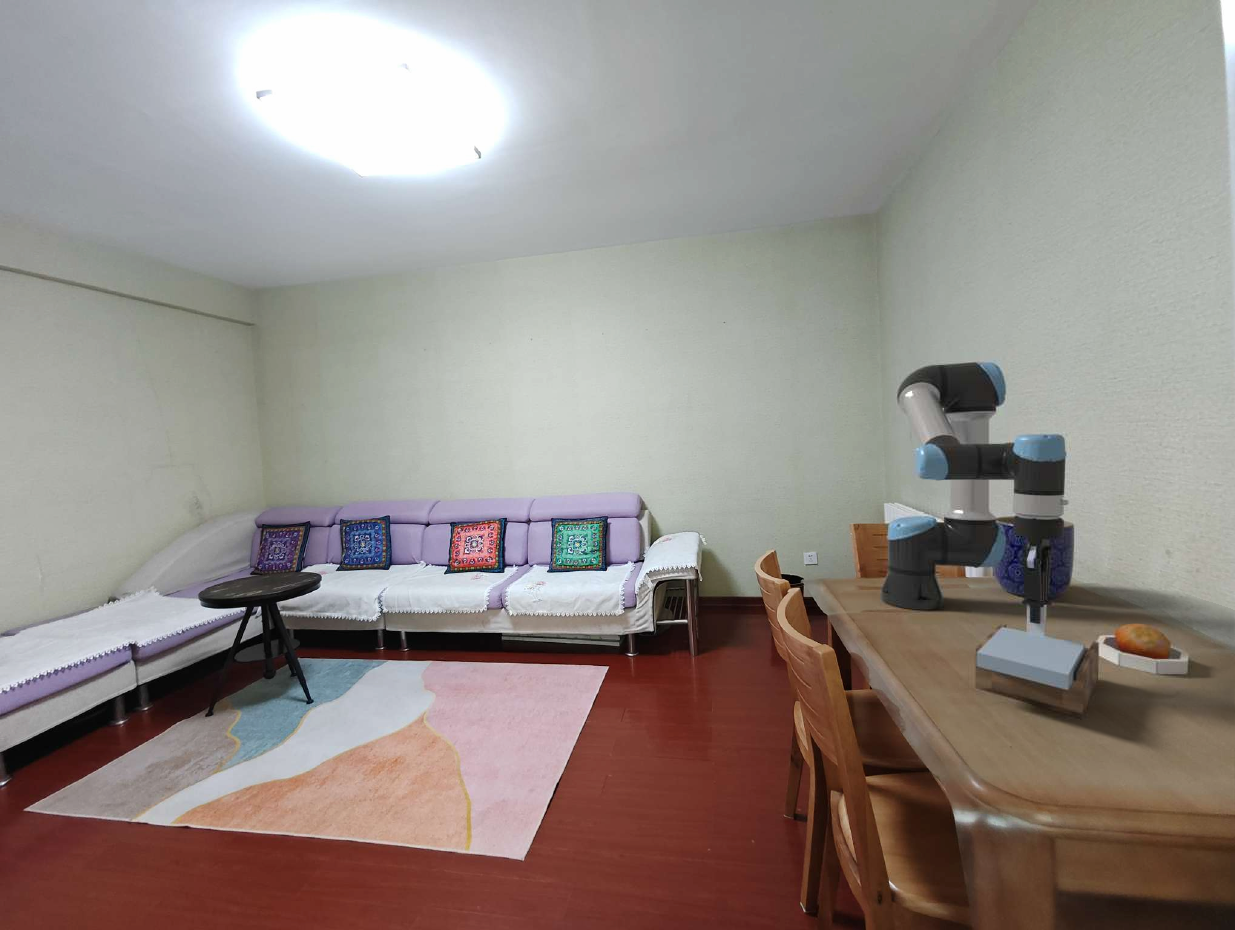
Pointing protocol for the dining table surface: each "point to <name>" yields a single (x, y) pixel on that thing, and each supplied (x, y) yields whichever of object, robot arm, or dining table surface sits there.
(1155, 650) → the fruit
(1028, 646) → the lid
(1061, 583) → the planter
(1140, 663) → the fruit ring
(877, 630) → the dining table surface
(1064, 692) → the box
